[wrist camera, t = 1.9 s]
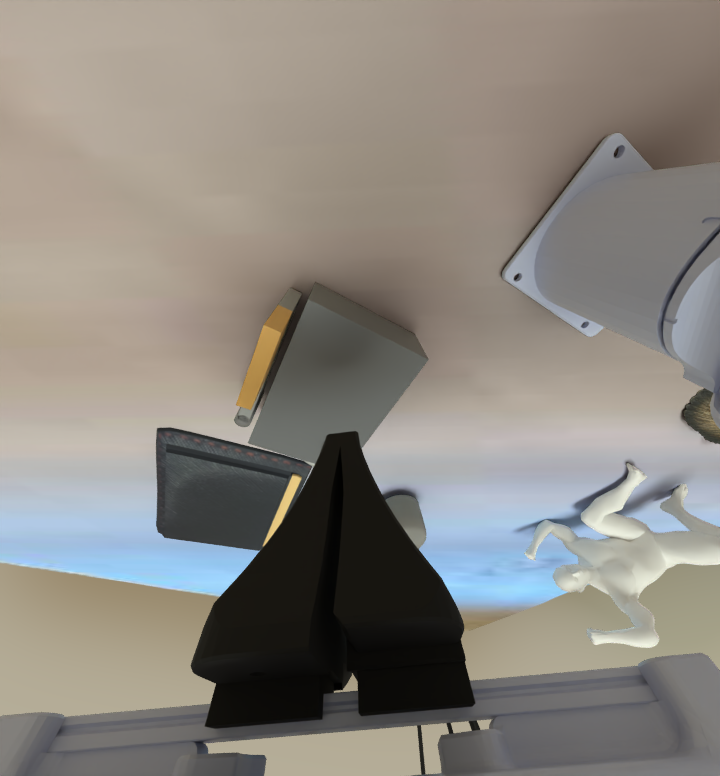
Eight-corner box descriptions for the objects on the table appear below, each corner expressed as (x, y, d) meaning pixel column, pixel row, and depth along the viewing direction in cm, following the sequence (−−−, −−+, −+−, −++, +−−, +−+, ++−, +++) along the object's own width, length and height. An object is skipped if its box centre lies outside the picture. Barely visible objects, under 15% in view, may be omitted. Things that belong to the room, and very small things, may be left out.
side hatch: (304, 294, 17) (284, 334, 12) (261, 398, 22) (233, 461, 16) (288, 286, 17) (260, 323, 12) (248, 393, 22) (215, 456, 16)
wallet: (148, 432, 22) (318, 474, 26) (161, 418, 24) (320, 459, 28) (146, 543, 32) (269, 561, 36) (155, 527, 34) (273, 546, 38)
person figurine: (798, 559, 20) (613, 673, 26) (800, 552, 26) (651, 645, 32) (609, 443, 30) (508, 542, 36) (643, 458, 36) (552, 541, 42)
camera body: (414, 334, 20) (430, 363, 16) (340, 443, 26) (339, 483, 22) (315, 282, 17) (306, 302, 14) (259, 415, 23) (242, 455, 20)
